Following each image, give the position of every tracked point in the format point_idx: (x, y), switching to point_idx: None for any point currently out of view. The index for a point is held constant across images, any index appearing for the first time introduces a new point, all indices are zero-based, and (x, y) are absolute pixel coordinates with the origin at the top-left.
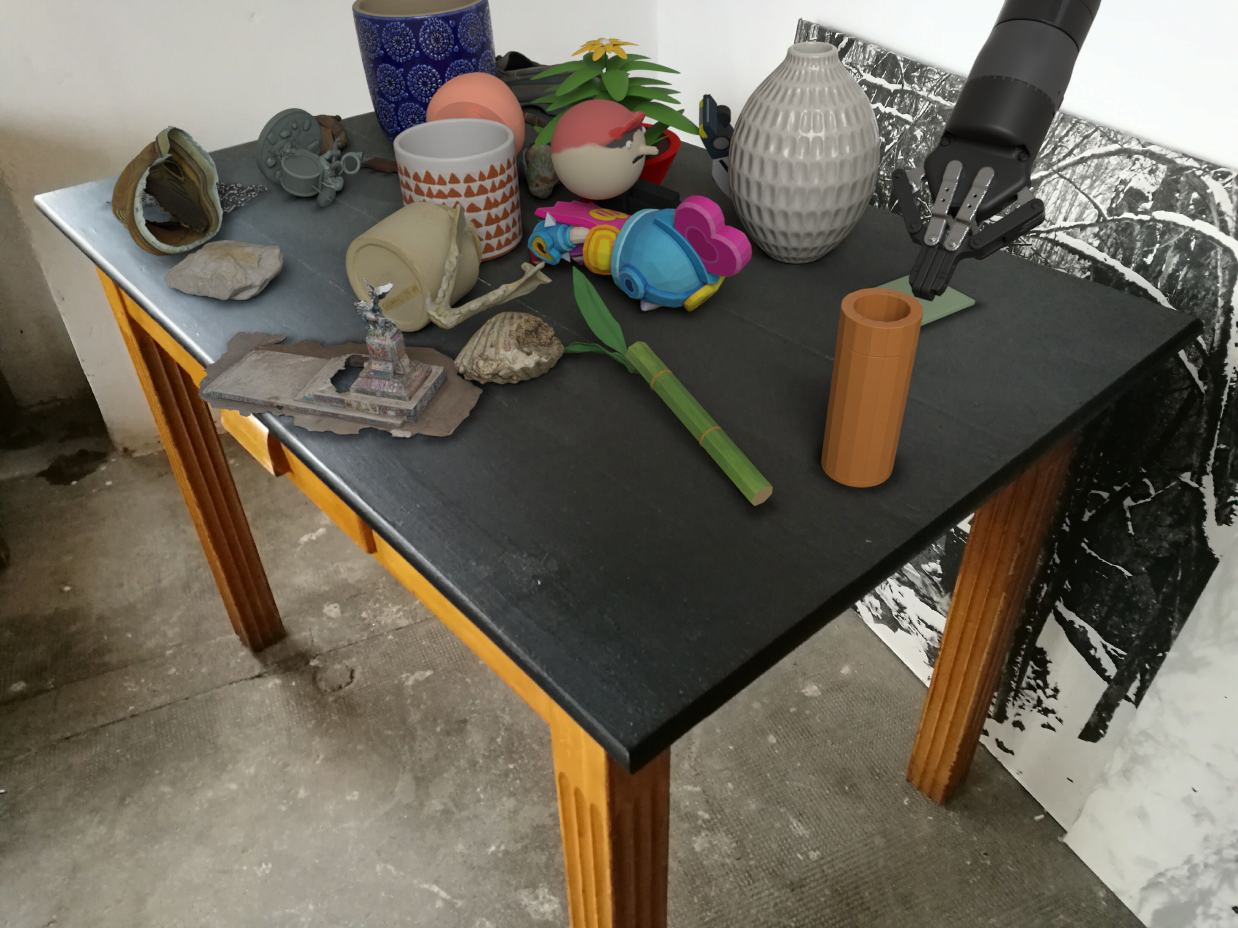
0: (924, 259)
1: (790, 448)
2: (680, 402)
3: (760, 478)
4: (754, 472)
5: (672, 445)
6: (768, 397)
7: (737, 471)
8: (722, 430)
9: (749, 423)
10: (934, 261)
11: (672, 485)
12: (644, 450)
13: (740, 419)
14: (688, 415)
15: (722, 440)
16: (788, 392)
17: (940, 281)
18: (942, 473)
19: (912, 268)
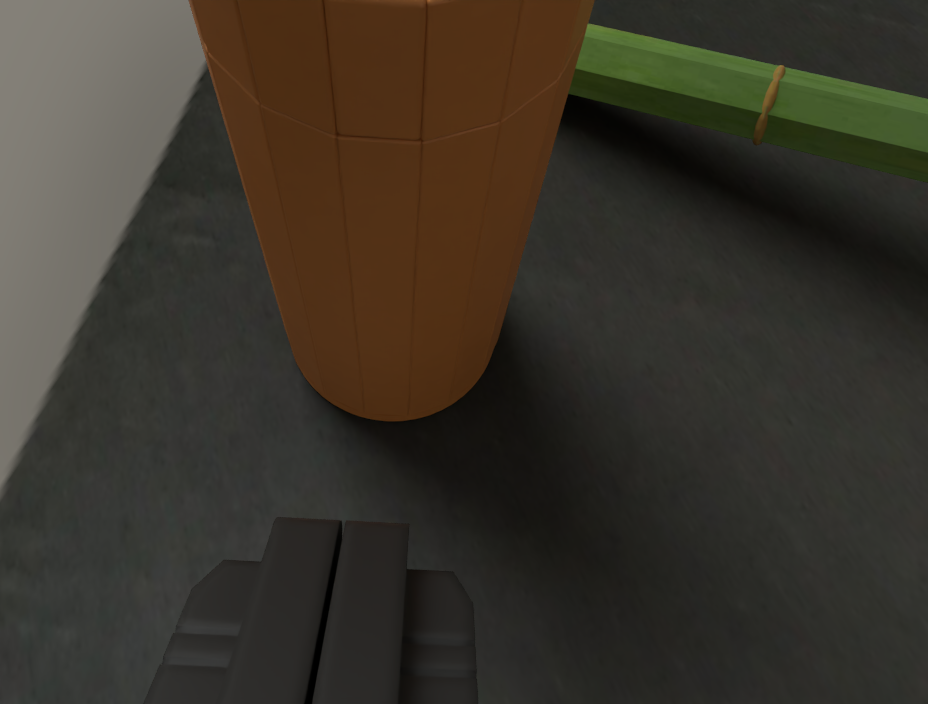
0: (395, 679)
1: (589, 303)
2: (924, 102)
3: None
4: (585, 43)
5: (853, 170)
6: (789, 502)
7: (625, 33)
8: (752, 107)
9: (752, 349)
10: (295, 679)
11: (749, 54)
12: None
13: (786, 353)
14: (867, 87)
15: (723, 66)
16: (754, 565)
17: (214, 606)
18: (149, 411)
19: (474, 647)
